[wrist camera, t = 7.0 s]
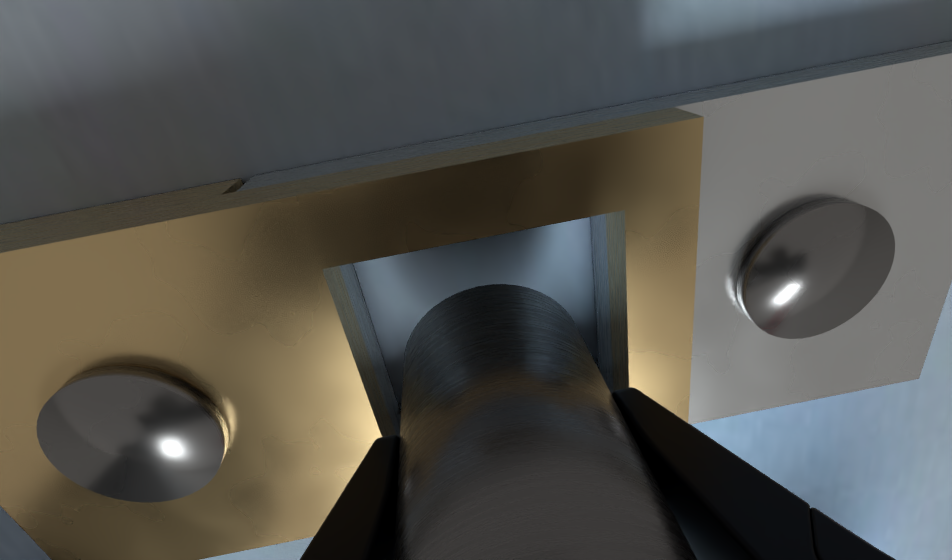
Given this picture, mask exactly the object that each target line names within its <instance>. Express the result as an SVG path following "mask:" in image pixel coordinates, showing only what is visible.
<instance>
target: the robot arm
mask: <svg viewBox="0 0 952 560" xmlns="http://www.w3.org/2000/svg"><path fill="white" fill-rule="evenodd" d="M612 396H613V398H614V400H615V402H616V404H617V406H618V408H619V410H620V412H621V414H622V416H623V418H624V419H625V421H626V423H627V425H628V427H629V429H630V431H631V433H632V435H633V437H634V439H635V441H636V443H637V444H638V446H639V448H640V450H641V452H642V454H643V456H644V458H645V460H646V462H647V464H648V466H649V468H650V470H651V471H652V473H653V475H654V477H655V479H656V481H657V483H658V485H659V487H660V489H661V491H662V493H663V495H664V496H665V498H666V500H667V502H668V504H669V506H670V508H671V510H672V512H673V514H674V516H675V518H676V520H677V522H678V523H679V525H680V527H681V529H682V531H683V533H684V535H685V537H686V539H687V541H688V543H689V545H690V547H691V548H692V550H693V552H694V554H695V556H696V558H697V560H896V559H894V558H892V557H891V556H889V555H887V554H886V553H884V552H882V551H880V550H879V549H877V548H876V547H874V546H873V545H871V544H869V543H868V542H866V541H865V540H863V539H862V538H860V537H858V536H857V535H855V534H854V533H852V532H851V531H849V530H848V529H846V528H844V527H843V526H841V525H840V524H838V523H837V522H835V521H834V520H832V519H831V518H829V517H828V516H826V515H825V514H823V513H822V512H820V511H819V510H817V509H816V508H811V509H810V506H809V504H808V503H807V502H805V501H804V500H802V499H801V498H799V497H798V496H796V495H795V494H793V493H792V492H790V491H789V490H787V489H786V488H784V487H783V486H781V485H780V484H778V483H777V482H775V481H774V480H772V479H771V478H769V477H768V476H766V475H765V474H763V473H762V472H760V471H759V470H757V469H756V468H754V467H753V466H751V465H750V464H748V463H747V462H745V461H744V460H742V459H741V458H739V457H738V456H736V455H735V454H733V453H732V452H730V451H729V450H727V449H726V448H724V447H723V446H721V445H720V444H718V443H717V442H716V441H714V440H713V439H711V438H710V437H708V436H707V435H705V434H704V433H702V432H701V431H699V430H698V429H696V428H695V427H693V426H692V425H690V424H689V423H687V422H686V421H684V420H683V419H681V418H680V417H678V416H677V415H675V414H674V413H672V412H671V411H669V410H668V409H666V408H665V407H663V406H662V405H660V404H659V403H657V402H656V401H654V400H653V399H651V398H650V397H648V396H647V395H645V394H644V393H642V392H641V391H639V390H638V389H636V388H633V387H630V388H625V389H620V390H615V391H614V392H613V393H612ZM399 446H400V438H399V436H398V435H390V436H385V437H380V438H377V439H376V440H375V441H374V443H373V444H372V446H371V447H370V449H369V451H368V452H367V454H366V455H365V457H364V458H363V460H362V462H361V463H360V465H359V466H358V468H357V470H356V471H355V473H354V474H353V476H352V478H351V479H350V481H349V482H348V484H347V485H346V487H345V489H344V490H343V492H342V493H341V495H340V497H339V498H338V500H337V501H336V503H335V505H334V506H333V508H332V509H331V511H330V513H329V514H328V516H327V517H326V519H325V520H324V522H323V524H322V525H321V527H320V528H319V530H318V532H317V533H316V535H315V536H314V538H313V540H312V541H311V543H310V544H309V546H308V547H307V549H306V551H305V552H304V554H303V555H302V557H301V559H300V560H394V543H395V523H396V504H397V484H398V465H399Z"/></svg>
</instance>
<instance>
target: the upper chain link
mask: <svg viewBox="0 0 952 560" xmlns="http://www.w3.org/2000/svg"><path fill="white" fill-rule="evenodd" d="M703 126H704V117H703V116H700V115H697V114H694V113H691V112H688V111H685V110H681V109H678V108H675V107H671V108H666V109H661V110H656V111H651V112H646V113H640V114H635V115H630V116H625V117H620V118H615V119H609V120H604V121H599V122H594V123H589V124H584V125H578V126H573V127H568V128H563V129H558V130H553V131H547V132H542V133H537V134H532V135H527V136H522V137H516V138H511V139H506V140H501V141H496V142H491V143H485V144H480V145H475V146H470V147H465V148H460V149H454V150H449V151H444V152H439V153H434V154H429V155H423V156H418V157H413V158H408V159H403V160H398V161H392V162H387V163H382V164H377V165H372V166H367V167H362V168H356V169H351V170H346V171H341V172H336V173H331V174H325V175H320V176H315V177H310V178H305V179H300V180H294V181H289V182H284V183H279V184H274V185H269V186H263V187H258V188H253V189H248V190H243V191H238V192H236V191H237V190H238V189H240V188H241V187H242V186H243V183H242V180H241V178H240V179H234V180H229V181H224V182H219V183H214V184H209V185H203V186H198V187H193V188H188V189H183V190H178V191H172V192H167V193H162V194H157V195H152V196H147V197H141V198H136V199H131V200H126V201H121V202H115V203H110V204H105V205H100V206H95V207H90V208H84V209H79V210H74V211H69V212H64V213H59V214H53V215H48V216H43V217H38V218H33V219H28V220H22V221H17V222H12V223H7V224H2V225H0V506H1V507H2V508H3V509H4V510H5V511H6V512H7V513H8V514H9V515H10V516H11V517H12V518H13V519H14V520H15V521H16V523H17V524H18V525H19V526H20V527H21V528H22V529H23V530H24V531H25V532H26V533H27V534H28V535H29V536H30V537H31V538H32V539H33V540H34V541H35V542H36V544H37V545H38V546H39V547H40V548H41V549H42V550H43V551H44V552H45V553H46V554H47V555H48V556H49V557H50V558H51V559H52V560H199V559H204V558H209V557H214V556H219V555H224V554H229V553H234V552H239V551H244V550H249V549H254V548H259V547H264V546H269V545H274V544H279V543H284V542H289V541H294V540H299V539H304V538H309V537H314V536H315V535H316V533H317V532H318V530H319V528H320V527H321V525H322V524H323V522H324V520H325V519H326V517H327V516H328V514H329V513H330V511H331V509H332V508H333V506H334V505H335V503H336V501H337V500H338V498H339V497H340V495H341V493H342V492H343V490H344V489H345V487H346V485H347V484H348V482H349V481H350V479H351V478H352V476H353V474H354V473H355V471H356V470H357V468H358V466H359V465H360V463H361V462H362V460H363V458H364V457H365V455H366V454H367V452H368V451H369V449H370V447H371V446H372V444H373V443H374V441H375V440H376V439H377V438H380V437H385V436H390V435H396V433H395V430H394V427H393V424H392V421H391V418H390V415H389V412H388V410H387V407H386V404H385V401H384V398H383V395H382V392H381V389H380V386H379V383H378V380H377V377H376V374H375V371H374V368H373V365H372V362H371V359H370V356H369V353H368V350H367V347H366V344H365V341H364V338H363V335H362V332H361V329H360V326H359V323H358V320H357V317H356V315H355V312H354V309H353V306H352V303H351V300H350V297H349V294H348V291H347V288H346V285H345V282H344V279H343V276H342V273H341V270H340V267H339V266H341V265H346V264H351V263H356V262H361V261H367V260H372V259H377V258H382V257H387V256H392V255H397V254H402V253H408V252H413V251H418V250H423V249H428V248H433V247H438V246H443V245H448V244H454V243H459V242H464V241H469V240H474V239H479V238H484V237H489V236H495V235H500V234H505V233H510V232H515V231H520V230H525V229H530V228H535V227H541V226H546V225H551V224H556V223H561V222H566V221H571V220H576V219H581V218H587V217H592V216H597V215H602V214H605V215H606V237H607V260H608V282H609V304H610V327H611V349H612V371H613V392H614V391H615V390H620V389H625V388H630V387H633V388H636V389H638V390H639V391H641V392H642V393H644V394H645V395H647V396H648V397H650V398H651V399H653V400H654V401H656V402H657V403H659V404H660V405H662V406H663V407H665V408H666V409H668V410H669V411H671V412H672V413H674V414H675V415H677V416H678V417H680V418H681V419H683V420H684V421H686V422H687V423H688V418H689V398H690V379H691V359H692V340H693V320H694V301H695V281H696V262H697V242H698V223H699V203H700V184H701V165H702V145H703Z"/></svg>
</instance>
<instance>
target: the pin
mask: <svg viewBox="0 0 952 560" xmlns="http://www.w3.org/2000/svg"><path fill="white" fill-rule="evenodd" d="M394 560H697V558H696V556H695V554H694V552H693V550H692V548H691V547H690V545H689V543H688V541H687V539H686V537H685V535H684V533H683V531H682V529H681V527H680V525H679V523H678V522H677V520H676V518H675V516H674V514H673V512H672V510H671V508H670V506H669V504H668V502H667V500H666V498H665V496H664V495H663V493H662V491H661V489H660V487H659V485H658V483H657V481H656V479H655V477H654V475H653V473H652V471H651V470H650V468H649V466H648V464H647V462H646V460H645V458H644V456H643V454H642V452H641V450H640V448H639V446H638V444H637V443H636V441H635V439H634V437H633V435H632V433H631V431H630V429H629V427H628V425H627V423H626V421H625V419H624V418H623V416H622V414H621V412H620V410H619V408H618V406H617V404H616V402H615V400H614V398H613V396H612V394H611V392H610V391H609V389H608V387H607V385H606V383H605V381H604V379H603V377H602V375H601V373H600V371H599V369H598V367H597V366H596V364H595V362H594V360H593V358H592V356H591V354H590V352H589V350H588V348H587V346H586V344H585V342H584V340H583V339H582V337H581V335H580V333H579V331H578V329H577V327H576V325H575V323H574V321H573V320H572V318H571V317H570V315H569V314H568V313H567V311H566V310H565V309H564V308H563V307H562V306H561V305H560V304H558V303H557V302H556V301H554V300H553V299H551V298H550V297H548V296H546V295H544V294H543V293H541V292H538V291H535V290H533V289H530V288H526V287H522V286H517V285H507V284H493V285H485V286H478V287H475V288H471V289H467V290H464V291H462V292H459V293H457V294H454V295H452V296H450V297H449V298H447V299H445V300H443V301H442V302H440V303H439V304H437V305H436V306H435V307H433V308H432V309H431V310H430V311H429V312H428V313H427V314H426V315H425V316H424V317H423V318H422V319H421V320H420V322H419V323H418V324H417V326H416V327H415V329H414V330H413V332H412V334H411V336H410V338H409V340H408V343H407V346H406V350H405V356H404V368H403V387H402V407H401V426H400V446H399V465H398V484H397V504H396V523H395V543H394Z"/></svg>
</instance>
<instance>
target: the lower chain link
mask: <svg viewBox="0 0 952 560" xmlns="http://www.w3.org/2000/svg"><path fill="white" fill-rule="evenodd" d="M671 107H675V108H678V109H681V110H685V111H688V112H691V113H694V114H697V115H700V116H703V117H704V126H703V145H702V165H701V184H700V203H699V223H698V242H697V262H696V281H695V301H694V320H693V340H692V359H691V379H690V398H689V418H688V423H689V424H694V423H699V422H704V421H709V420H714V419H719V418H724V417H729V416H734V415H739V414H744V413H749V412H754V411H759V410H764V409H769V408H774V407H779V406H784V405H789V404H794V403H799V402H804V401H809V400H814V399H819V398H824V397H829V396H834V395H839V394H844V393H849V392H854V391H859V390H864V389H869V388H874V387H879V386H884V385H889V384H894V383H899V382H904V381H909V380H914V379H919V377H920V374H921V371H922V368H923V365H924V362H925V359H926V356H927V353H928V350H929V347H930V344H931V341H932V338H933V335H934V332H935V329H936V326H937V323H938V320H939V317H940V314H941V311H942V308H943V305H944V302H945V299H946V296H947V293H948V290H949V287H950V284H951V281H952V41H948V42H943V43H938V44H933V45H928V46H922V47H917V48H912V49H907V50H902V51H897V52H891V53H886V54H881V55H876V56H871V57H866V58H860V59H855V60H850V61H845V62H840V63H834V64H829V65H824V66H819V67H814V68H809V69H803V70H798V71H793V72H788V73H783V74H778V75H772V76H767V77H762V78H757V79H752V80H747V81H741V82H736V83H731V84H726V85H721V86H716V87H710V88H705V89H700V90H695V91H690V92H684V93H679V94H674V95H669V96H664V97H659V98H653V99H648V100H643V101H638V102H633V103H628V104H622V105H617V106H612V107H607V108H602V109H597V110H591V111H586V112H581V113H576V114H571V115H566V116H560V117H555V118H550V119H545V120H540V121H534V122H529V123H524V124H519V125H514V126H509V127H503V128H498V129H493V130H488V131H483V132H478V133H472V134H467V135H462V136H457V137H452V138H447V139H441V140H436V141H431V142H426V143H421V144H415V145H410V146H405V147H400V148H395V149H390V150H384V151H379V152H374V153H369V154H364V155H359V156H353V157H348V158H343V159H338V160H333V161H328V162H322V163H317V164H312V165H307V166H302V167H297V168H291V169H286V170H281V171H276V172H271V173H265V174H260V175H255V176H253V177H252V178H251V179H250V180H249V181H247V182H246V183H245V184H244V185H243V186H242V187H241V188H240V189H238V190H237V191H236V192H238V191H243V190H248V189H253V188H258V187H263V186H269V185H274V184H279V183H284V182H289V181H294V180H300V179H305V178H310V177H315V176H320V175H325V174H331V173H336V172H341V171H346V170H351V169H356V168H362V167H367V166H372V165H377V164H382V163H387V162H392V161H398V160H403V159H408V158H413V157H418V156H423V155H429V154H434V153H439V152H444V151H449V150H454V149H460V148H465V147H470V146H475V145H480V144H485V143H491V142H496V141H501V140H506V139H511V138H516V137H522V136H527V135H532V134H537V133H542V132H547V131H553V130H558V129H563V128H568V127H573V126H578V125H584V124H589V123H594V122H599V121H604V120H609V119H615V118H620V117H625V116H630V115H635V114H640V113H646V112H651V111H656V110H661V109H666V108H671ZM590 221H591V238H592V254H593V271H594V287H595V304H596V320H597V336H598V353H599V369H600V373H601V375H602V377H603V379H604V381H605V383H606V385H607V387H608V389H609V391H610V392H611V394H612V393H613V371H612V349H611V327H610V304H609V282H608V260H607V237H606V215H605V214H602V215H597V216H592V217H590ZM339 267H340V270H341V273H342V276H343V279H344V282H345V285H346V288H347V291H348V294H349V297H350V300H351V303H352V306H353V309H354V312H355V315H356V317H357V320H358V323H359V326H360V329H361V332H362V335H363V338H364V341H365V344H366V347H367V350H368V353H369V356H370V359H371V362H372V365H373V368H374V371H375V374H376V377H377V380H378V383H379V386H380V389H381V392H382V395H383V398H384V401H385V404H386V407H387V410H388V412H389V415H390V418H391V421H392V424H393V427H394V430H395V433H396V435H398V436H399V438H400V426H401V412H400V409H399V406H398V403H397V400H396V397H395V394H394V391H393V388H392V385H391V381H390V378H389V375H388V372H387V369H386V366H385V363H384V360H383V356H382V353H381V350H380V347H379V344H378V341H377V338H376V335H375V332H374V328H373V325H372V322H371V319H370V316H369V313H368V310H367V307H366V304H365V300H364V297H363V294H362V291H361V288H360V285H359V282H358V279H357V276H356V272H355V269H354V266H353V263H351V264H346V265H341V266H339Z"/></svg>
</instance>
